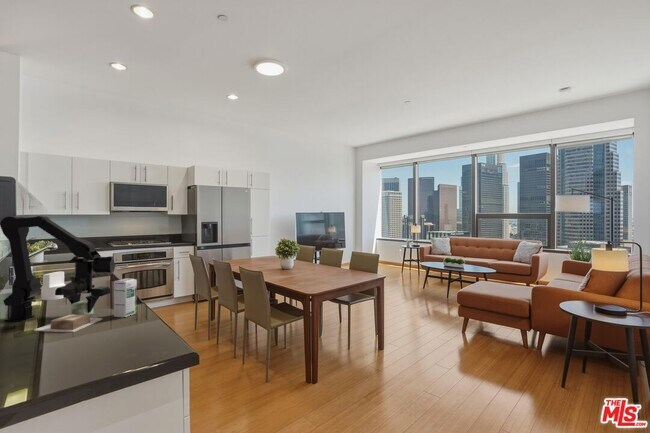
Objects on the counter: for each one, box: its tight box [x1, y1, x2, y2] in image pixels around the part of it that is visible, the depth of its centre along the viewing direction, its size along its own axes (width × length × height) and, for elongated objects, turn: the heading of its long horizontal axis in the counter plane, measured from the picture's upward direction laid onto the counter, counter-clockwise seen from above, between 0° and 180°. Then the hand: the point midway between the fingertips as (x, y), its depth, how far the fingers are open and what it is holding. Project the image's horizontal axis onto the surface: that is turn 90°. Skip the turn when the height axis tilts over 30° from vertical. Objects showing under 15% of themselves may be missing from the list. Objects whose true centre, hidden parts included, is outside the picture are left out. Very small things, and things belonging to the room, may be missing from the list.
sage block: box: [71, 300, 95, 315], centre depth 129 cm, size 5×5×5 cm
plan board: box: [33, 313, 103, 333], centre depth 118 cm, size 14×14×4 cm
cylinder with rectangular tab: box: [40, 270, 67, 301], centre depth 155 cm, size 9×9×12 cm
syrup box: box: [113, 278, 138, 318], centre depth 131 cm, size 6×6×14 cm
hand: (82, 312), depth 129 cm, fingers closed on sage block, 5 cm apart
